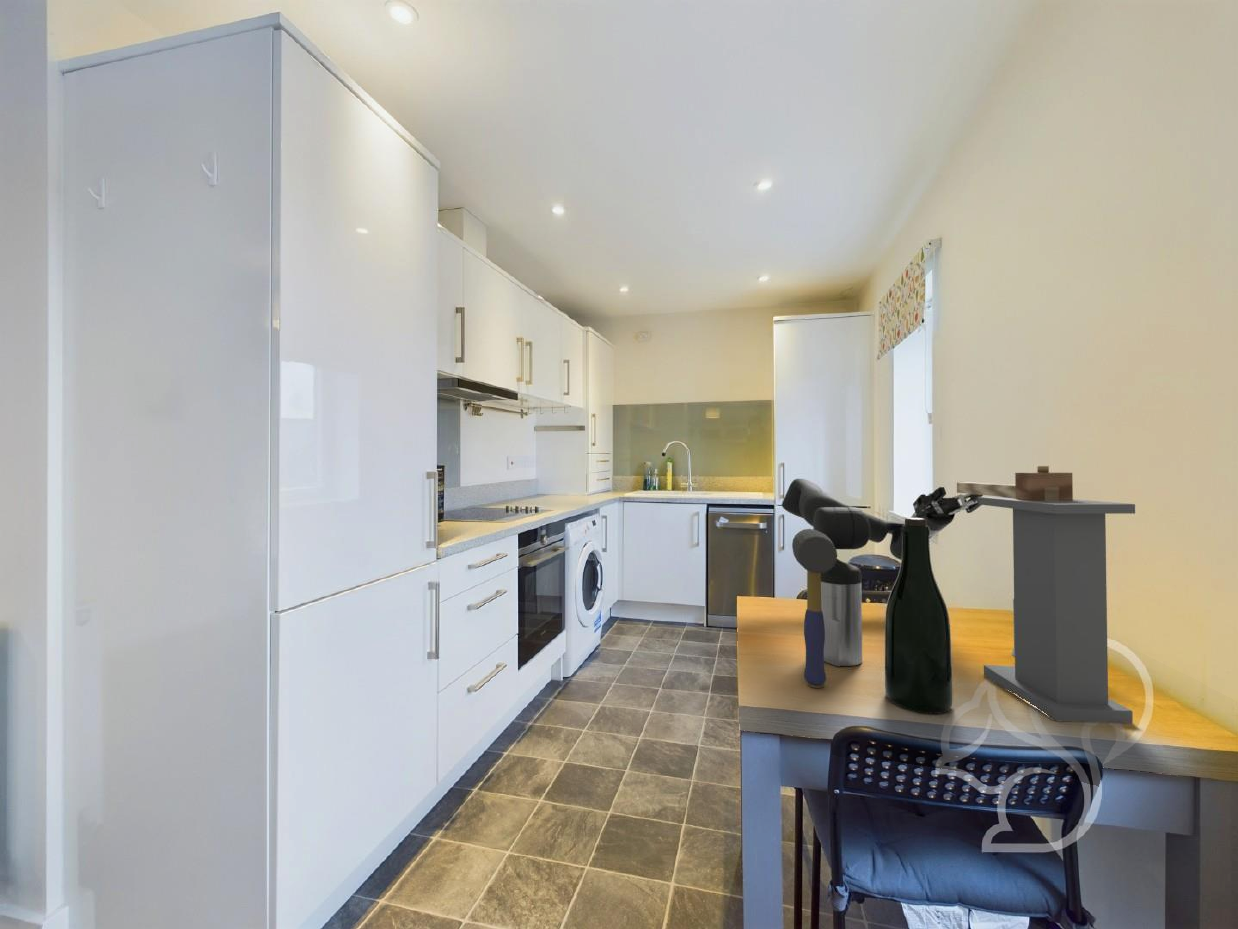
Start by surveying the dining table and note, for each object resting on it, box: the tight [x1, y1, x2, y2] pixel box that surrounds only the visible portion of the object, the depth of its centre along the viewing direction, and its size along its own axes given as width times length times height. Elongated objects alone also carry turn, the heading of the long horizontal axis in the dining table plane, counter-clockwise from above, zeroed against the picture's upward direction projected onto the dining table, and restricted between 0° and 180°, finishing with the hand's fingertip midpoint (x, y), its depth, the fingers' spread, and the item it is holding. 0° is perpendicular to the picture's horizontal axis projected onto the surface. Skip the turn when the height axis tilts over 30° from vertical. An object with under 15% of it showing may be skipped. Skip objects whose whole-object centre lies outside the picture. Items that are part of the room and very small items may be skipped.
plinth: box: [978, 496, 1136, 724], centre depth 91 cm, size 20×12×36 cm, turn 175°
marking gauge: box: [956, 465, 1074, 501], centre depth 103 cm, size 27×7×6 cm, turn 175°
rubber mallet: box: [791, 528, 838, 689], centre depth 96 cm, size 12×8×30 cm, turn 166°
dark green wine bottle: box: [884, 517, 954, 714], centre depth 89 cm, size 10×10×33 cm
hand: (962, 489), depth 118 cm, fingers open, 8 cm apart
